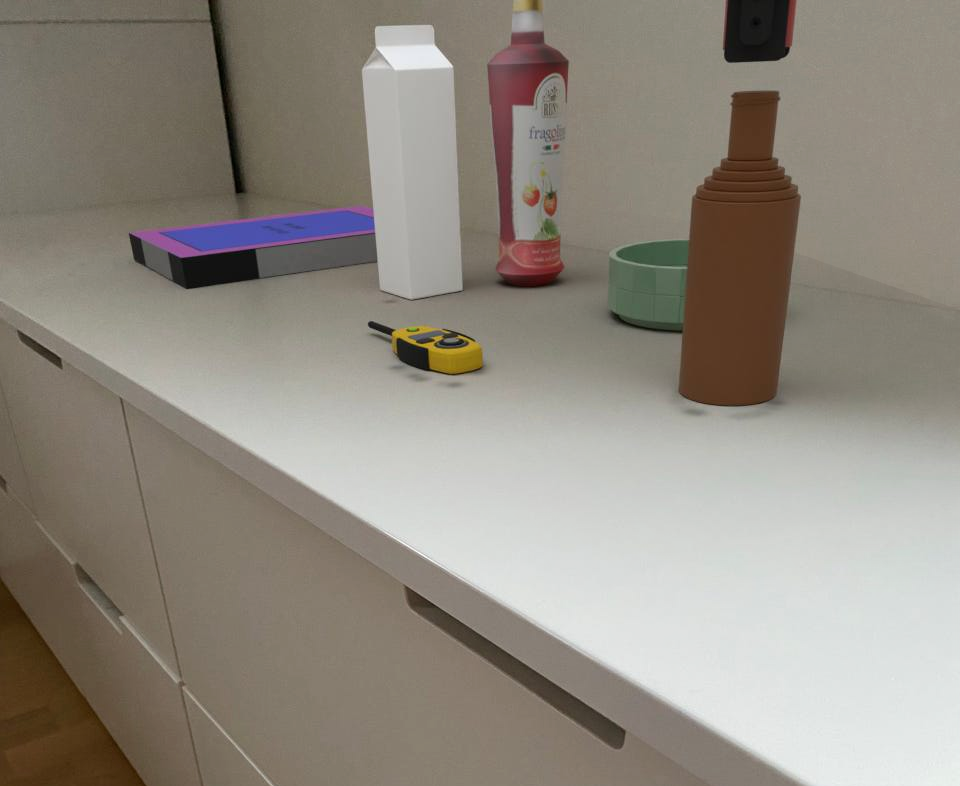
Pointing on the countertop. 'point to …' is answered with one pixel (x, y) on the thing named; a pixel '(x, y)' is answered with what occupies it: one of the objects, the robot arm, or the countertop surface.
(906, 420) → the countertop surface
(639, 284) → the bowl
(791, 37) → the cap
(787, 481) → the countertop surface
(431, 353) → the yellow walkie talkie
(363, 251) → the book
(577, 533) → the countertop surface
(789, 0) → the robot arm
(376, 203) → the milk
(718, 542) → the countertop surface
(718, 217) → the bottle
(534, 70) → the liquor
